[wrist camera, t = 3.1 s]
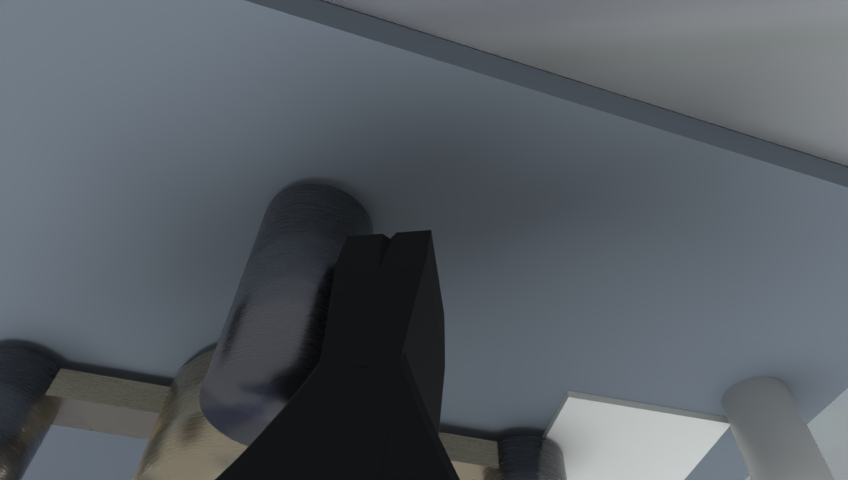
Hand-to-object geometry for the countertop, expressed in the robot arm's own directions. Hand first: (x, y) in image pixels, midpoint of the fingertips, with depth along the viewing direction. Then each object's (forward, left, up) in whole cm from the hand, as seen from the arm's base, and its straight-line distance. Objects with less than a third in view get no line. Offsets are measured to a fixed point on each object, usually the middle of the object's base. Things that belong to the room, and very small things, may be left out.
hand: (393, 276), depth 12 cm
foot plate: (-7, 0, -3) cm, 8 cm away
